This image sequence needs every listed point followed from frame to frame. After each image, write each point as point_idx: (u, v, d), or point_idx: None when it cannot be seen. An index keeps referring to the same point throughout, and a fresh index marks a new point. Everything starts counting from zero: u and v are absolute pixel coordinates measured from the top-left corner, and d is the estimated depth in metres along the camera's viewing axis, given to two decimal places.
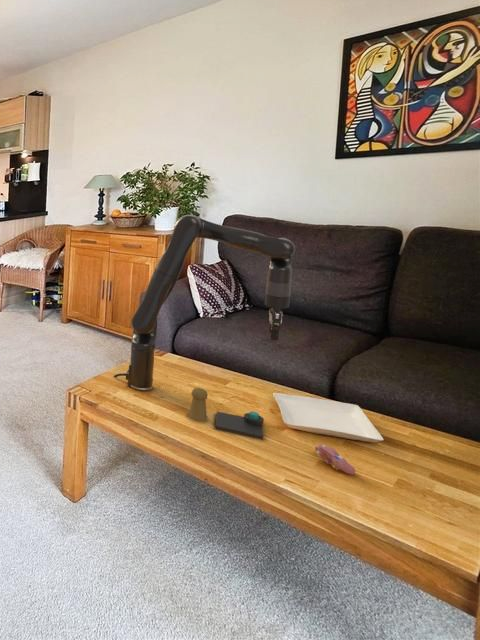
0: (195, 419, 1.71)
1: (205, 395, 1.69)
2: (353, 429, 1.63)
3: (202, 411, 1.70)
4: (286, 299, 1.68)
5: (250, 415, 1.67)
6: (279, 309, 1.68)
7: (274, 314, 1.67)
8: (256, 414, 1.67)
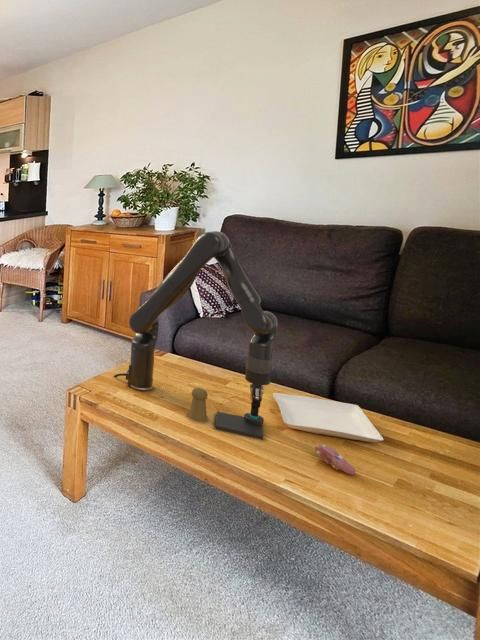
0: (195, 419, 1.71)
1: (205, 395, 1.69)
2: (353, 429, 1.63)
3: (202, 411, 1.70)
4: (267, 376, 1.61)
5: (250, 417, 1.67)
6: (260, 386, 1.62)
7: (253, 398, 1.61)
8: (256, 416, 1.67)
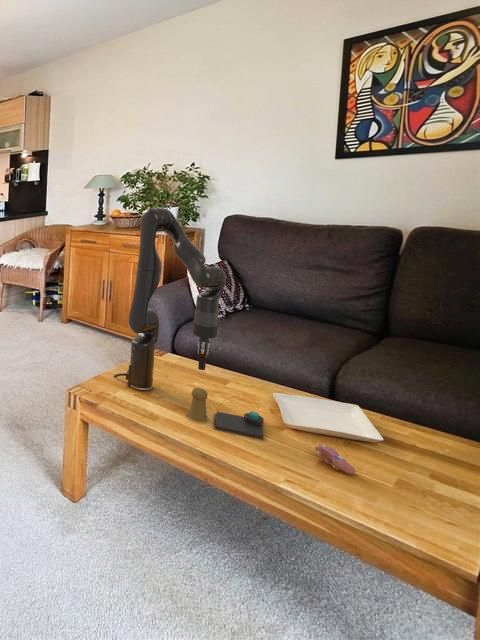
0: (195, 419, 1.71)
1: (205, 395, 1.69)
2: (353, 429, 1.63)
3: (202, 411, 1.70)
4: (213, 329, 1.64)
5: (250, 415, 1.67)
6: (206, 339, 1.65)
7: (199, 351, 1.64)
8: (256, 414, 1.67)
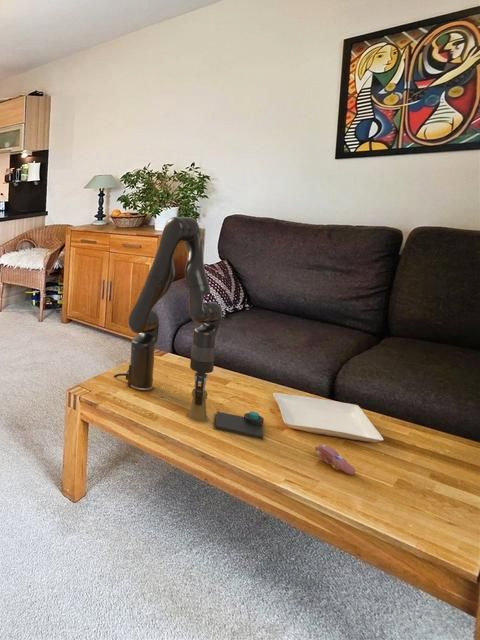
0: (195, 419, 1.71)
1: (205, 395, 1.69)
2: (353, 429, 1.63)
3: (202, 411, 1.70)
4: (209, 364, 1.66)
5: (250, 415, 1.67)
6: (202, 374, 1.67)
7: (196, 382, 1.65)
8: (256, 414, 1.67)
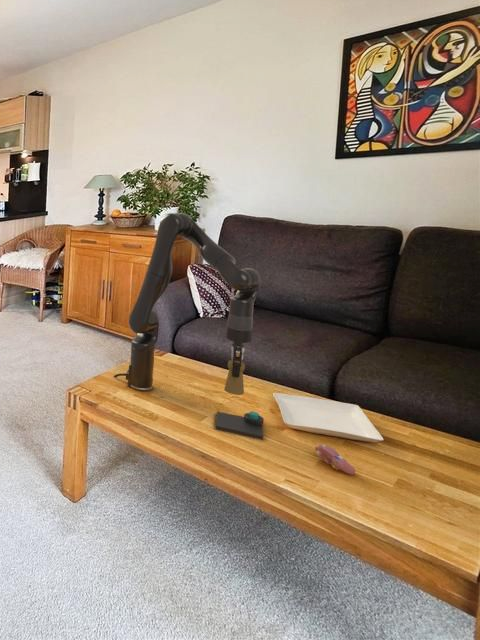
0: (232, 392, 1.63)
1: (243, 366, 1.61)
2: (353, 429, 1.63)
3: (239, 383, 1.62)
4: (248, 333, 1.58)
5: (250, 415, 1.67)
6: (240, 344, 1.59)
7: (234, 352, 1.57)
8: (256, 414, 1.67)
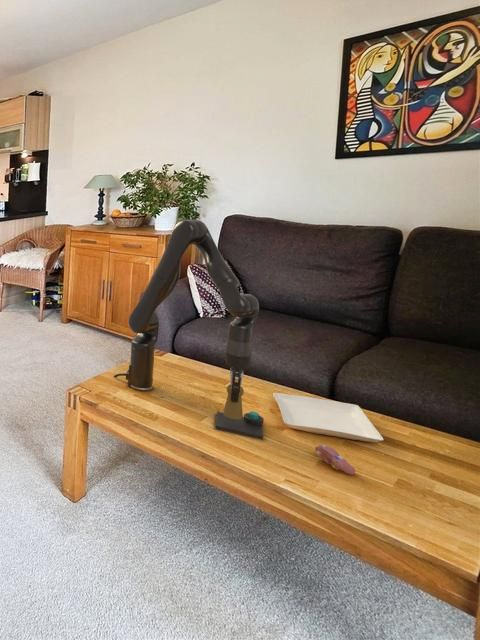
0: (231, 416, 1.64)
1: (241, 391, 1.63)
2: (353, 429, 1.63)
3: (238, 407, 1.63)
4: (246, 359, 1.59)
5: (250, 415, 1.67)
6: (239, 369, 1.60)
7: (233, 378, 1.58)
8: (256, 414, 1.67)
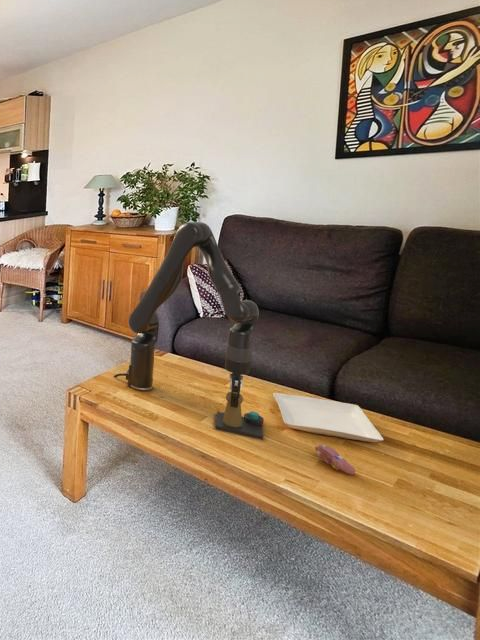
0: (230, 424, 1.64)
1: (241, 399, 1.63)
2: (353, 429, 1.63)
3: (237, 415, 1.64)
4: (246, 365, 1.60)
5: (250, 415, 1.67)
6: (239, 375, 1.60)
7: (233, 381, 1.59)
8: (256, 414, 1.67)
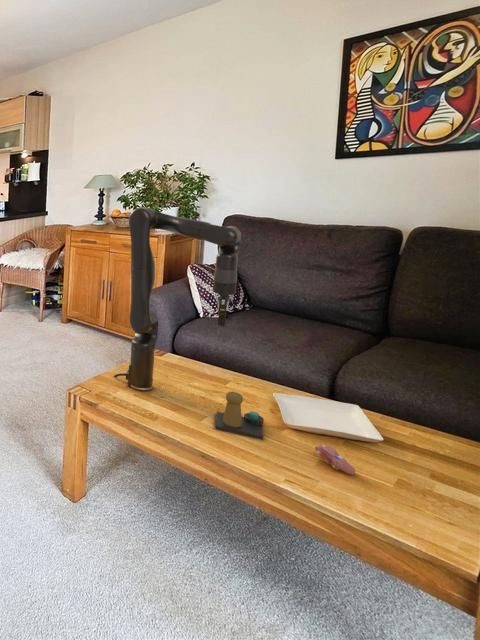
0: (230, 424, 1.64)
1: (241, 399, 1.63)
2: (353, 429, 1.63)
3: (237, 415, 1.64)
4: (232, 285, 1.72)
5: (250, 415, 1.67)
6: (225, 295, 1.72)
7: (220, 300, 1.71)
8: (256, 414, 1.67)
